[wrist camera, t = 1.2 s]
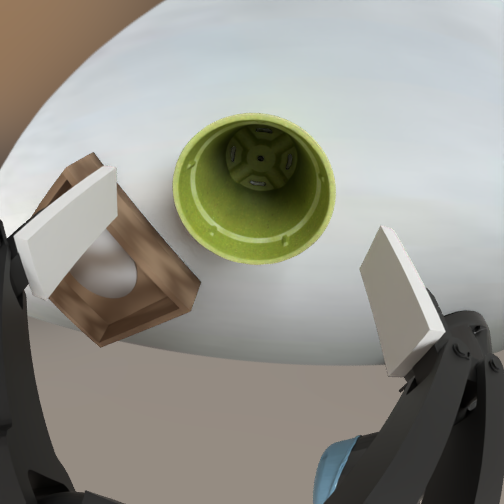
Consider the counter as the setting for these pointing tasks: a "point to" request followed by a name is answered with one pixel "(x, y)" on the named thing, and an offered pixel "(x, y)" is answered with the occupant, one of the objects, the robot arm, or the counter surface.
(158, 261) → the brown wooden square tray
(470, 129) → the counter surface
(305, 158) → the plant pot
